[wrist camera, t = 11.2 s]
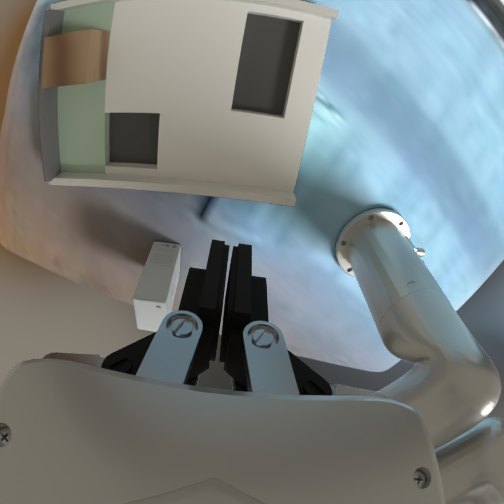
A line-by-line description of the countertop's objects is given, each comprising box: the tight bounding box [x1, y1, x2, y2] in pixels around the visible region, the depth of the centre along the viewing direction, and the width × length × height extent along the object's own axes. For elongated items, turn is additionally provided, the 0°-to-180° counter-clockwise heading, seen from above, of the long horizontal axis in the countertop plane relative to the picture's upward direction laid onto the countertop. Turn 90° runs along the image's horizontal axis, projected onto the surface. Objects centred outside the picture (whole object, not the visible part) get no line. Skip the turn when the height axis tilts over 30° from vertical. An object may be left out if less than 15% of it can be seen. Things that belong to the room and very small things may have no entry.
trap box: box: [39, 0, 338, 207], centre depth 28 cm, size 32×24×5 cm
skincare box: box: [133, 241, 181, 332], centre depth 40 cm, size 6×4×12 cm
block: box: [42, 29, 110, 89], centre depth 23 cm, size 6×6×5 cm
